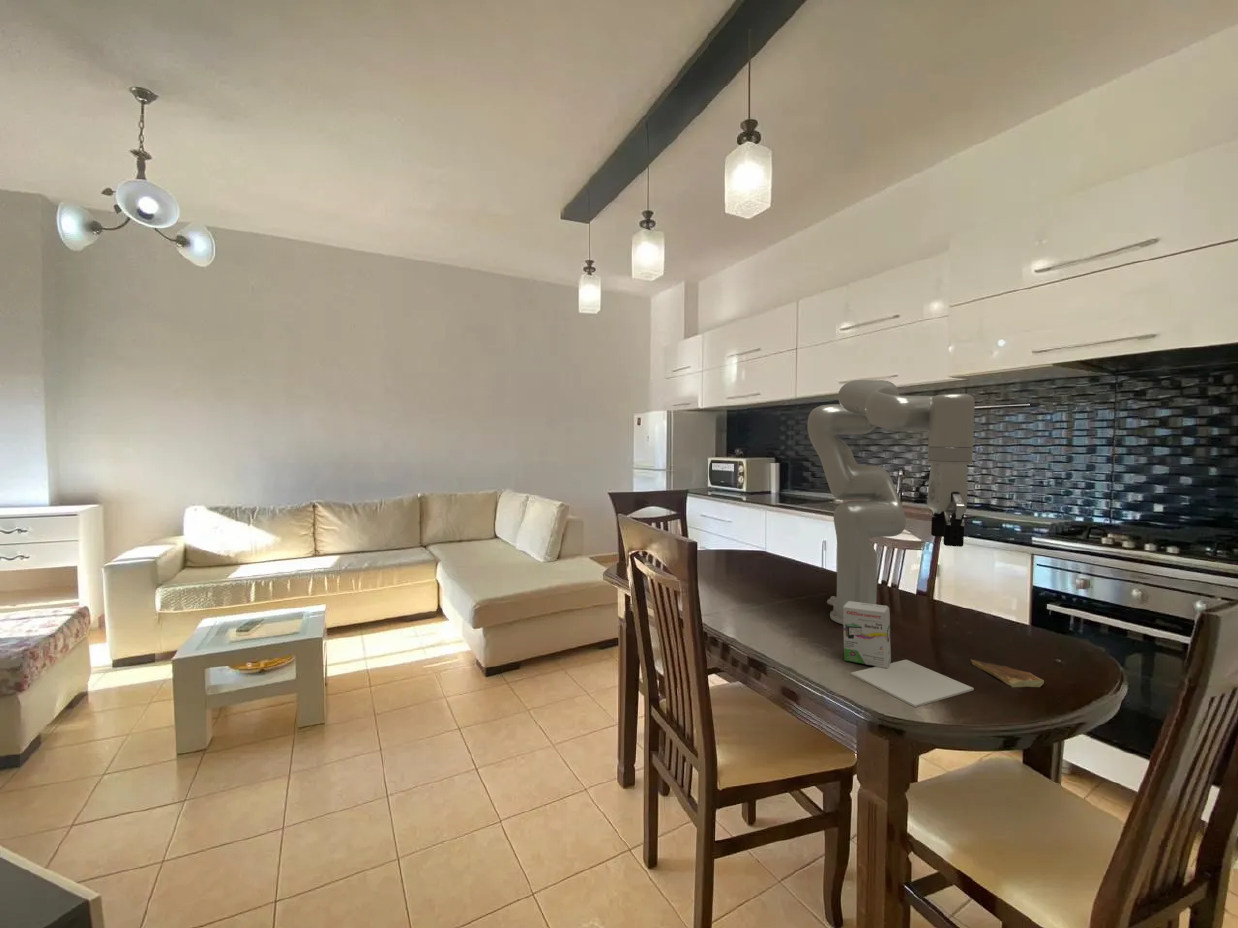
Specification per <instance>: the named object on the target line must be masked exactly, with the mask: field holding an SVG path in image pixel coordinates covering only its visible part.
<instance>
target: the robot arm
mask: <svg viewBox="0 0 1238 928" xmlns="http://www.w3.org/2000/svg"><path fill="white" fill-rule="evenodd" d="M899 392H900V391H899V389H898V387H897V386H896V384H894V383H893V382H891V381H888V380H884V379H883V380H880V379H878V380H877V379H875V380H873V379H872V380H871V379H854V380H851V381H847V382H846V383H844V384H843V385H842V386H841V387H840V389H839V390H838V393H837V399H838V402H839V403H837V404H836V403H833V404H822V405H819V406H816V407H815V408H814V409H812V410H811V411H810V412H809V415H808V418H807V433H808V438H809V440H810V443H811V445H812V447H813V448H814V450H815V452H816V454H817V455H818V457H819V460H820V463H821V466H822V468H823V471H824V476H825V478H826V481H827V486H828V488H829V490H830V493H831V494H832V496H833V497H834V498H835V499H837V500H840V501H844V502H842V503H840V504H838V506H836V508H835V510H834V511H833V512H834V513H833V525H834V530H835V535H836V596H834V595H831V596H830V598H828V599H827V601H826V603H827V604H828V605H830V606H833V609H832V610H831V611H830V613H829V616H830V620H832V621H833V622H835V623H837V624H840V625H843V606H844V605H845V604H846V603H847V602H848V601H853V602H861V603H869V604H876V605H877V593H878V592H877V586H878V585H877V584H878V580H877V579H878V555H877V551H876V549H875V548H874V546H873V545H872V543H871V541H870V540H869V538H881V537H882V538H886V537H887V538H889V537H890V538H891V537H897V536H899V535H901V534H902V533H903V532H904V530H905V527H906V524H907V518H906V514H905V510H904V507H903V505H902V502H901V500H900V496H899V495H898V492H897V489H896V487H895V484H894V482H893V479H892V477H891V475H890V474H889V472H888V471H887V470H886V469H885V468H883V467H881V466H878V465H869V464H868V465H861V464H859V463H857V461H856V459H855V457H854V454H853V453H854V452H853V451H852V449H851V448H850V447H849V445H848V444H847V443H846V442H845V441H843V440H842V439H841V438H840V437H838V435H865V434H869V433H870V432H873V430H874V429H876V428H878V427H879V428H881V429H884V430H888V431H893V432H928V436H927V437H928V440H927V441H928V443H927V463H928V464H931V465H930V470H929V477H928V489H927V499H926V500H927V502H926V506H927V508H928V509H930V510H931V511H932V512H931V524H930V525H931V527H930V528H931V531H930V534H931V536H933V537H941V538H943V541H942V542H943V545H944V546H945V547H959V548H961V547H963V546H964V541H965V540H964V537H965V513H966V512H967V506H968V465H973V458H974V457H973V455H974V454H973V450H974V434H975V433H974V431H975V430H974V429H975V428H974V427H975V408H976V407H975V406H976V405H975V403H976V401H975V398H974V397H973V396H972V395H971V394H968V393H944V394H943V393H942V394H937V395H935V396H934V395H900V393H899Z"/></svg>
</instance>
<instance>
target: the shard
mask: <svg viewBox="0 0 1238 928" xmlns="http://www.w3.org/2000/svg"><path fill="white" fill-rule="evenodd" d="M970 661H971V664H972V665H973V666H975V667H976V668H978V669H980V670H982V671H983V672H985V673H988V674H990V675H991V676H993V677H995V678H996V679H999V681H1001V682H1003V683H1004V684H1006V685H1007V686H1010V687H1011V688H1026V687H1028V688H1041V686H1043V684H1044V683H1045V680H1044V679H1042V678H1040V677H1038V676H1036V675H1034V674H1032V672H1030V671H1025V670H1022V669H1018V668H1014V667H1012V666H1011V667H1010V666H1006V665H1002V664H999V663H998V664H997V663H991V662H987V661H983V660H978V659H973V658H970Z"/></svg>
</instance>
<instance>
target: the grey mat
mask: <svg viewBox="0 0 1238 928" xmlns="http://www.w3.org/2000/svg"><path fill="white" fill-rule="evenodd" d="M850 676H852V677H854V678H856V679H859V680H860V681H862V682H864V683H866V684H868V685H870V686H872V687H874V688H877V689H878V690H880V691H882V692H883V693H886V694H888V695H890V696H892V697H894V698H896V699H898V700H900V701H901V702H903V703H905V704H908V705H910V706H912V707H914V708H918V707H921V706H924V705H929V704H932V703H935V702H938V701H941V700H945V699H948V698H952V697H956V696H959V695H963V694H966V693H970V692H972V691H974V690H975V689H974V687H972V686H970V685H967V684H965V683H963V682H960V681H959V680H956V679H953V678H950V677H948V676H947V675H944V674H943V673H942V674H941V673H939V672H936V671H934V670H932V669H929V668H928V667H925V666H922V665H920V664H917V663H915V662H913V661H911V660H909V659H903V660H899V661H894V662H890V664H889V666H888V668H883V667H878V666H872V667H868V668H864V669H860V670H856V671H853V672H850Z"/></svg>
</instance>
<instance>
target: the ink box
mask: <svg viewBox="0 0 1238 928" xmlns="http://www.w3.org/2000/svg"><path fill="white" fill-rule="evenodd" d="M890 615H891V614H890V607H889V606H887V605H881V604H877V603H876V604H869V603H861V602H853V601H848V602H847V603H846V604H845V605H844V606H843V624H842V625H843V626H842V627H843V655H844V659H843V661H847V662H853V663H857V664H862V665H867V666H872V667H877V666H878V667H883V668H888V666H889V664H890V663H892V662H891V661H892V655H891V654H892V652H891V617H890Z"/></svg>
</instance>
